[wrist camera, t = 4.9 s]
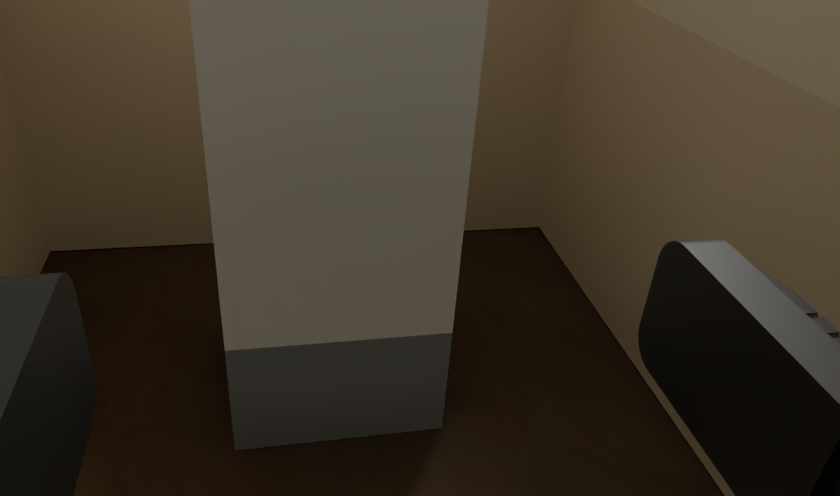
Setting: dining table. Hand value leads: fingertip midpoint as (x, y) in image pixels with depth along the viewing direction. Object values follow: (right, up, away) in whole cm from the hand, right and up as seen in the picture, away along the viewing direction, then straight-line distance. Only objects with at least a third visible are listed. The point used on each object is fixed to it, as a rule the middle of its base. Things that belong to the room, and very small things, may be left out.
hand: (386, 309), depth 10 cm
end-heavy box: (-2, -2, +9) cm, 10 cm away
